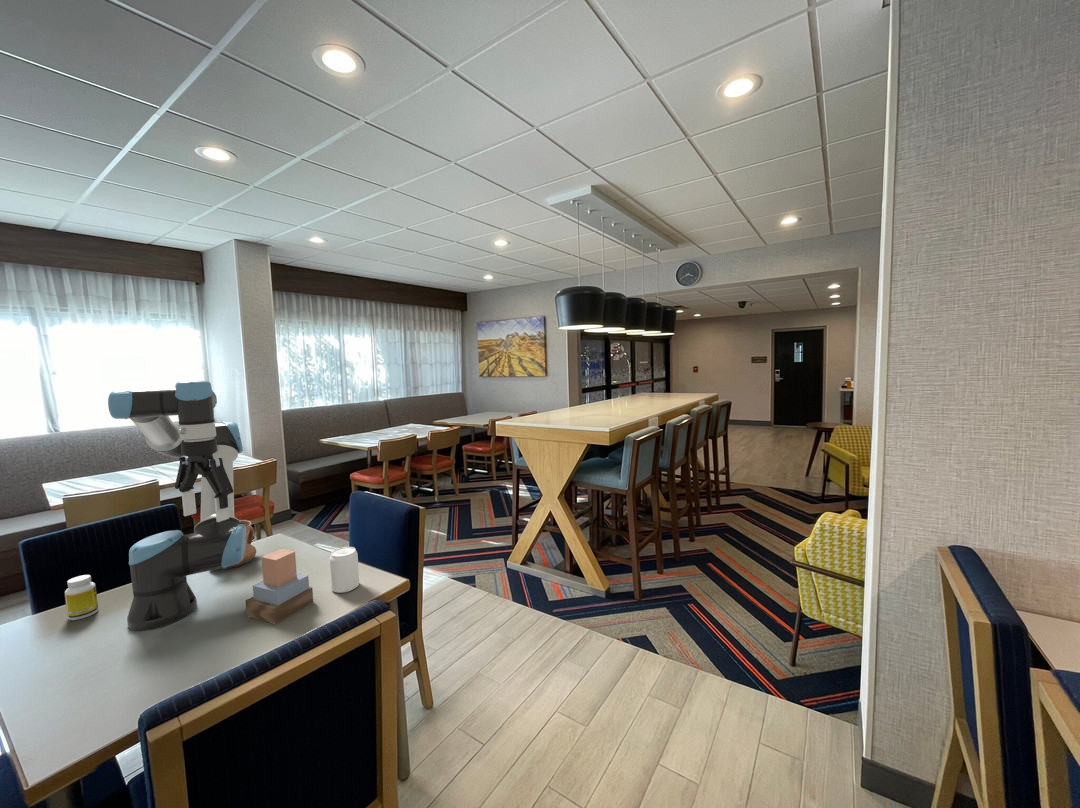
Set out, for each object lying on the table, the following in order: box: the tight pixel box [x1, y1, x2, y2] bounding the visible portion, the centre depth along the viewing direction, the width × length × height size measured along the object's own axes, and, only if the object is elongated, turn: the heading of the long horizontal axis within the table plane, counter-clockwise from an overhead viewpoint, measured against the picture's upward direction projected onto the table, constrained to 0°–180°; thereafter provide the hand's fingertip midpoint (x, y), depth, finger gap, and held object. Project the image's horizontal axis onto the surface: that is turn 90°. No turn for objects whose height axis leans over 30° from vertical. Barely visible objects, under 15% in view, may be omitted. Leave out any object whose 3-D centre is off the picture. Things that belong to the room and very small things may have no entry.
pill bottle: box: [64, 574, 99, 621], centre depth 126 cm, size 6×6×11 cm
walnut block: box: [244, 586, 314, 625], centre depth 128 cm, size 12×12×5 cm
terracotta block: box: [260, 548, 298, 587], centre depth 127 cm, size 6×6×8 cm
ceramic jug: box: [219, 519, 257, 570], centre depth 158 cm, size 18×14×14 cm
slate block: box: [252, 572, 310, 606], centre depth 127 cm, size 10×10×4 cm
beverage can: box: [329, 546, 360, 594], centre depth 139 cm, size 8×8×12 cm
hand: (206, 517), depth 117 cm, fingers open, 13 cm apart
